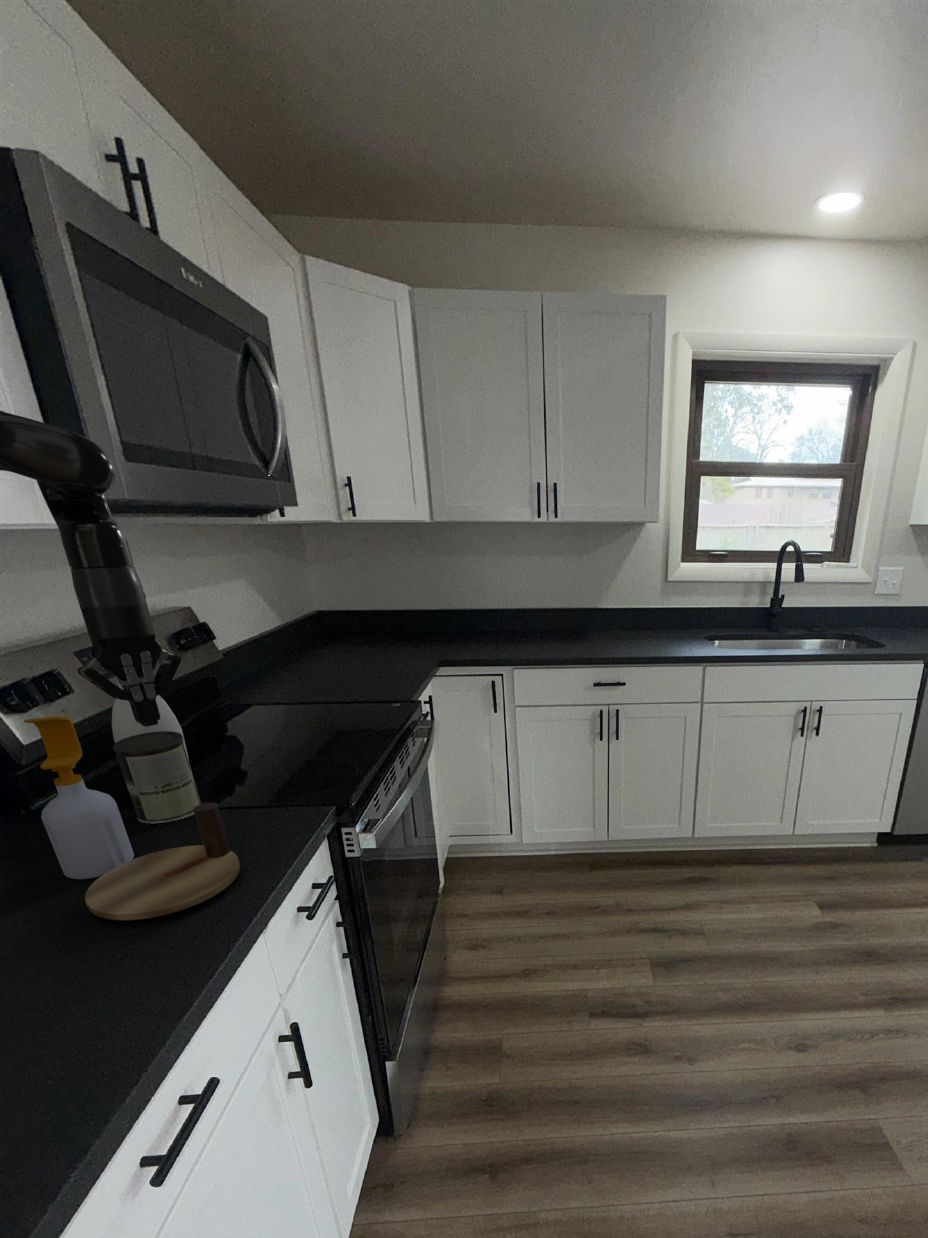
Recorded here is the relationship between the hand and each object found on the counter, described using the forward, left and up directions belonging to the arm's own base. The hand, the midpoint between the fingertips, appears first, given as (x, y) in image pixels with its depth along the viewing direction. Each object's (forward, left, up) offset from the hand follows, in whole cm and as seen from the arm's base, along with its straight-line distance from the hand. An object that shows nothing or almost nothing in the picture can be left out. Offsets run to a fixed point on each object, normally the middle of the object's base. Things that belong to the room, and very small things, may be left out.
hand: (149, 724), depth 94 cm
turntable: (+5, -9, -21) cm, 23 cm away
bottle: (-25, +24, -22) cm, 41 cm away
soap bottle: (-12, -5, -22) cm, 26 cm away
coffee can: (-15, +14, -22) cm, 30 cm away
